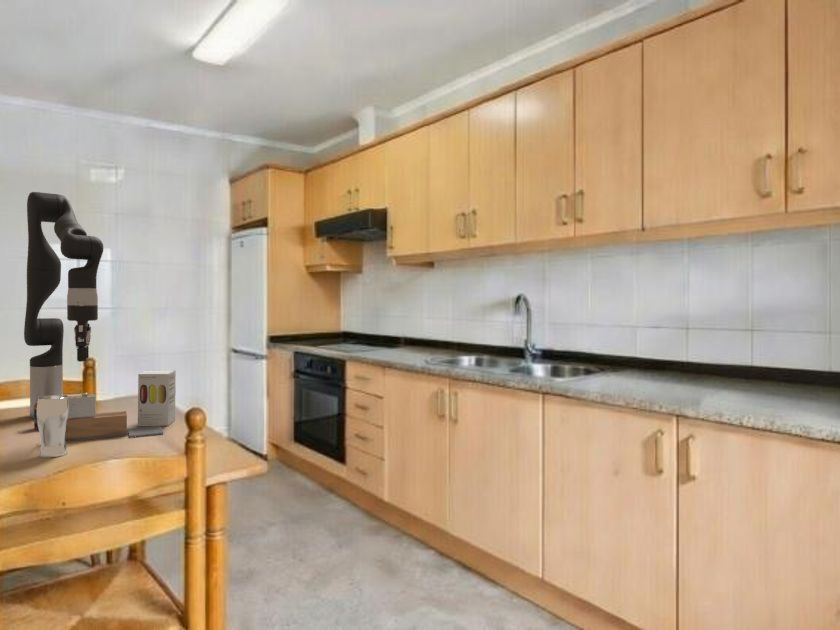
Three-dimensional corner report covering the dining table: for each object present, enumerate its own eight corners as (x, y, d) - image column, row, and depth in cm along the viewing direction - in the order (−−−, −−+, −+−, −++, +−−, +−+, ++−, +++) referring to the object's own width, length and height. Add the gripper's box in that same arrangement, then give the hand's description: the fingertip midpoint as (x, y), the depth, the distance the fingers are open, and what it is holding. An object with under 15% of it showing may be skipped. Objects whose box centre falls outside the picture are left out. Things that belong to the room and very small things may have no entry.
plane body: (54, 437, 157) (54, 416, 157) (126, 430, 166) (126, 410, 166) (52, 442, 150) (52, 421, 150) (127, 435, 160) (127, 415, 159)
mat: (128, 430, 166) (128, 428, 166) (160, 427, 170) (160, 425, 170) (129, 437, 157) (129, 435, 157) (163, 434, 161) (163, 432, 161)
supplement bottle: (57, 427, 169) (57, 396, 168) (40, 430, 164) (40, 399, 164) (47, 425, 171) (47, 395, 170) (30, 428, 166) (30, 397, 166)
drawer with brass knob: (63, 416, 156) (63, 393, 156) (95, 414, 160) (95, 391, 160) (62, 419, 153) (62, 395, 152) (95, 417, 157) (95, 393, 156)
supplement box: (136, 426, 170) (136, 373, 170) (145, 420, 179) (145, 369, 179) (169, 425, 172) (169, 373, 172) (176, 419, 181) (176, 369, 181)
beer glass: (44, 460, 135) (44, 400, 134) (31, 455, 138) (31, 397, 138) (74, 453, 141) (74, 396, 140) (61, 449, 144) (61, 393, 144)
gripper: (69, 304, 161) (70, 358, 161) (64, 304, 149) (64, 362, 149) (98, 304, 165) (99, 357, 165) (96, 304, 152) (96, 361, 152)
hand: (83, 359), depth 157 cm, fingers open, 8 cm apart
